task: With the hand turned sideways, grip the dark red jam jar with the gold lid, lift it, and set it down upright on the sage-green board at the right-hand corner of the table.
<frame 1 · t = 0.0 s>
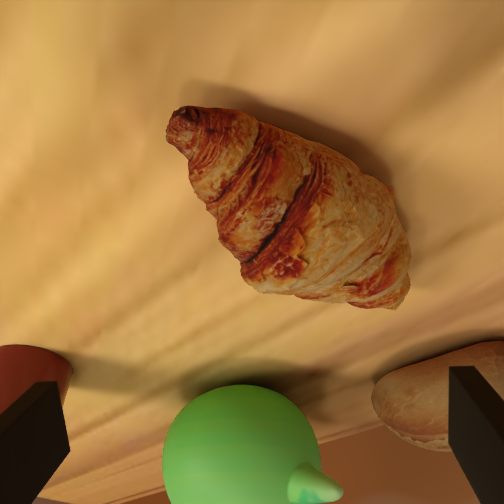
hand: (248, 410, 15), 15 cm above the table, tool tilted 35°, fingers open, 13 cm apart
jam jar: (32, 364, 46), on the table
croissant: (304, 203, 29), on the table
bread roll: (438, 359, 44), on the table
toy bird: (249, 394, 50), on the table
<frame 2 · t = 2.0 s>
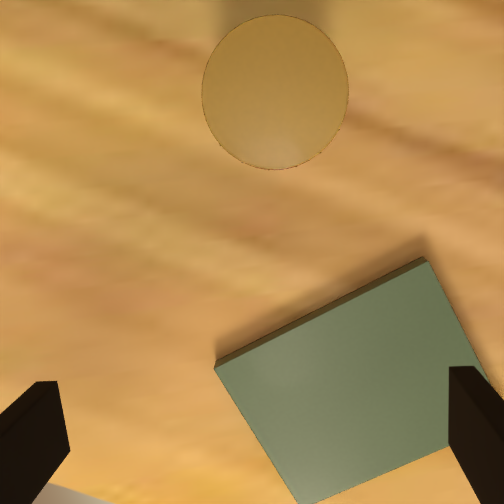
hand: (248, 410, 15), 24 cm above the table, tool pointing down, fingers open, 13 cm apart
corner board: (357, 385, 40), on the table
jam lid: (274, 95, 24), point 11 cm above the table, screwed on, not yet turned
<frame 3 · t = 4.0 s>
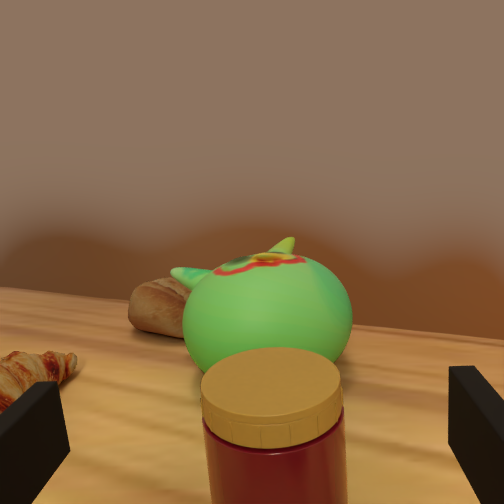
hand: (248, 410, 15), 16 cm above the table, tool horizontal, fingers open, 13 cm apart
bread roll: (173, 333, 65), on the table
jam lid: (270, 384, 25), point 11 cm above the table, screwed on, not yet turned
toy bird: (270, 377, 50), on the table
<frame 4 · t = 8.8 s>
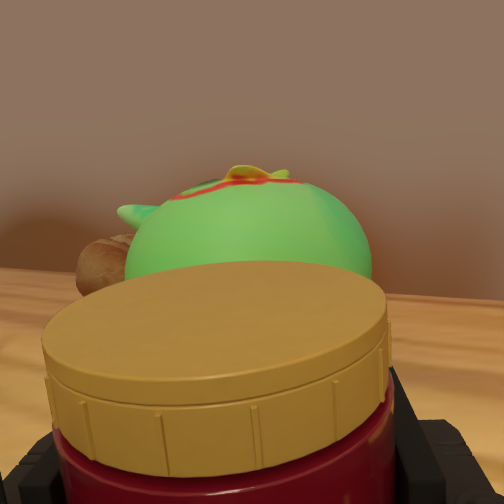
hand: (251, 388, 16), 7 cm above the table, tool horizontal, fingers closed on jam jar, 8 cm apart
bread roll: (134, 306, 51), on the table
jam lid: (219, 318, 11), point 11 cm above the table, screwed on, not yet turned
toy bird: (254, 355, 36), on the table
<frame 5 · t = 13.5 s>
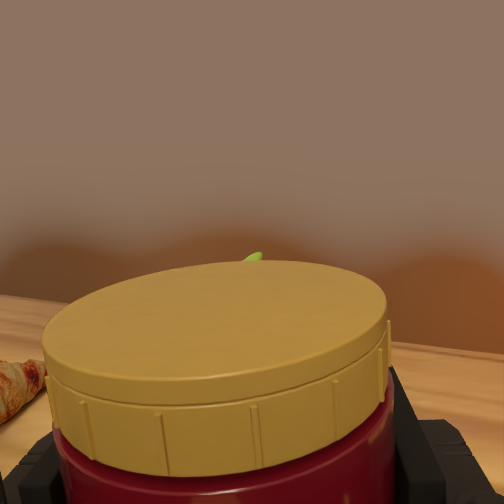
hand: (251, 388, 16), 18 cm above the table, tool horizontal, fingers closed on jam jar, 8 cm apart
jam lid: (219, 318, 11), point 23 cm above the table, screwed on, not yet turned
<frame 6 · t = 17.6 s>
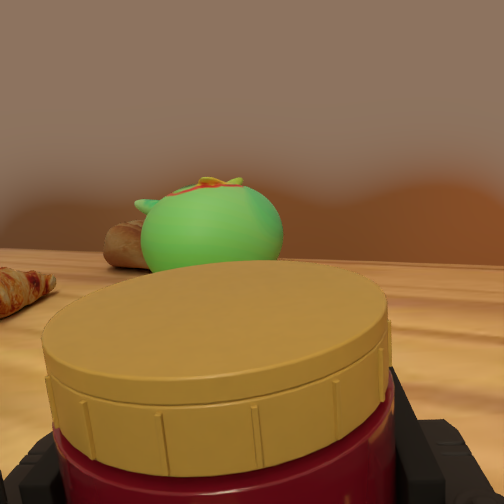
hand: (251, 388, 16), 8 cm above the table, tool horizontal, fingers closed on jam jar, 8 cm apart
bread roll: (143, 269, 75), on the table
jam lid: (219, 318, 11), point 13 cm above the table, screwed on, not yet turned
toy bird: (217, 289, 60), on the table
when the fingers open (8 cm above the table, at t = 17.8 s): jam jar stays where it is, resting on corner board.
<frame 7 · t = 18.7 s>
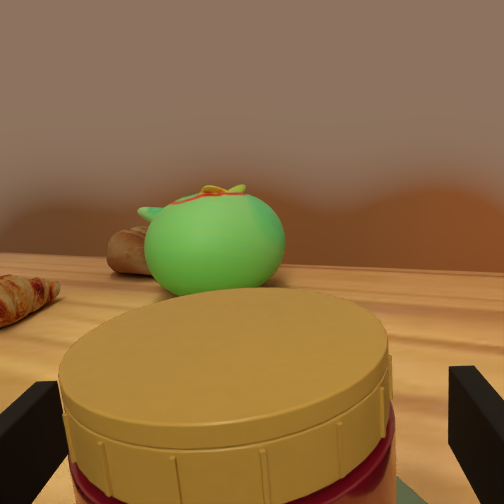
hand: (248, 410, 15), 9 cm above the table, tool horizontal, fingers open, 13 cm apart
bread roll: (146, 275, 75), on the table
jam lid: (227, 351, 11), point 13 cm above the table, screwed on, not yet turned
toy bird: (220, 296, 60), on the table
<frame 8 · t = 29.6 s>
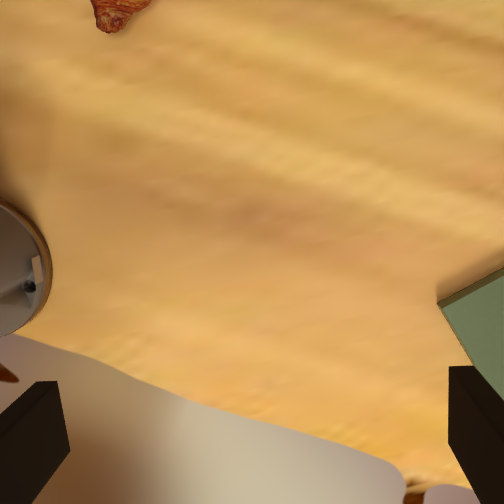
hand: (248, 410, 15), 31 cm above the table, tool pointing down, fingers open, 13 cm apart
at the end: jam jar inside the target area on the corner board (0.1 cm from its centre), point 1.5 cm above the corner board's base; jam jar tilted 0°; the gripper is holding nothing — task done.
